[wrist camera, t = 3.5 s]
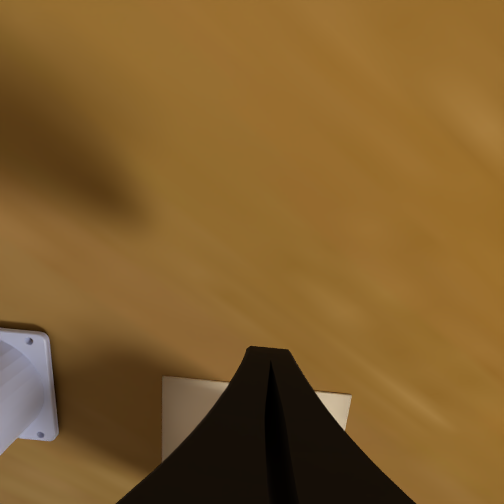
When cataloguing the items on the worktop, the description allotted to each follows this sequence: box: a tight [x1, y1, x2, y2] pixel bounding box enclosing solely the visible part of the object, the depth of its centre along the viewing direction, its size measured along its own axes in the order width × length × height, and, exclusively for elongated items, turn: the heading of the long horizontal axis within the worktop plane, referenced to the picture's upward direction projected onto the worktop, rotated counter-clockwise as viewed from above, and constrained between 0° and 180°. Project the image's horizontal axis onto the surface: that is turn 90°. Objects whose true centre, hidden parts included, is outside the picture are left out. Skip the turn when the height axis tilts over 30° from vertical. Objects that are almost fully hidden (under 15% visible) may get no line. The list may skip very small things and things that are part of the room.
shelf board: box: [162, 376, 352, 462], centre depth 19 cm, size 12×11×1 cm
